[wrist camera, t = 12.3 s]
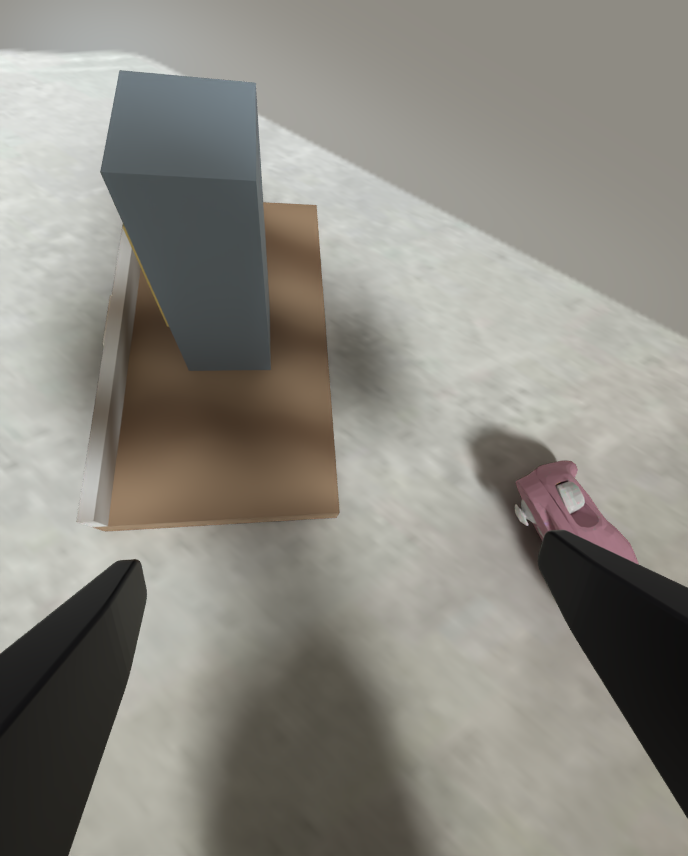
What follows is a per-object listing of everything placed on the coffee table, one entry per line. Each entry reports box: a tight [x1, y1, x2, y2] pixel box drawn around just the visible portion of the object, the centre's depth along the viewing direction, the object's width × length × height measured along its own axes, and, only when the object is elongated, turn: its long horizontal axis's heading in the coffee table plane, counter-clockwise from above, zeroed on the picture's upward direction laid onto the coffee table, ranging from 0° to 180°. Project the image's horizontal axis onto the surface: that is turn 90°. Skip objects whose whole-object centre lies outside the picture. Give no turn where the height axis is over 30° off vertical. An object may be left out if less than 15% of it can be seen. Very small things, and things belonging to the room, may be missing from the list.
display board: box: [76, 202, 339, 531], centre depth 25 cm, size 22×12×3 cm, turn 5°
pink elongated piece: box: [515, 461, 639, 564], centre depth 21 cm, size 10×5×7 cm, turn 23°
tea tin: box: [100, 70, 271, 371], centre depth 19 cm, size 5×5×12 cm
